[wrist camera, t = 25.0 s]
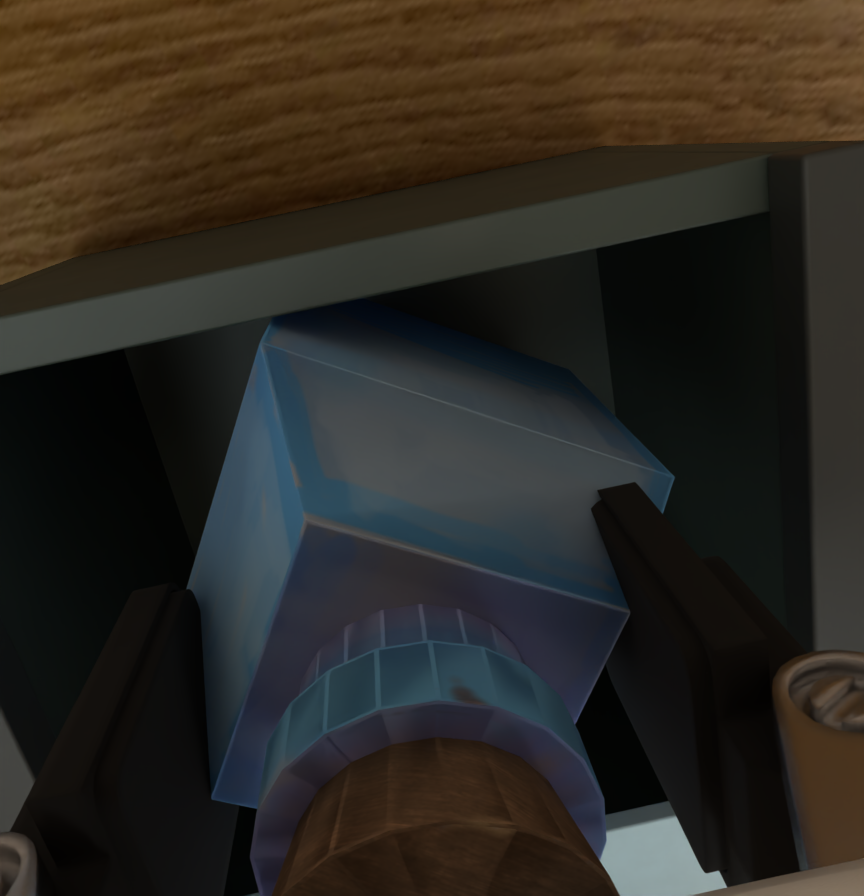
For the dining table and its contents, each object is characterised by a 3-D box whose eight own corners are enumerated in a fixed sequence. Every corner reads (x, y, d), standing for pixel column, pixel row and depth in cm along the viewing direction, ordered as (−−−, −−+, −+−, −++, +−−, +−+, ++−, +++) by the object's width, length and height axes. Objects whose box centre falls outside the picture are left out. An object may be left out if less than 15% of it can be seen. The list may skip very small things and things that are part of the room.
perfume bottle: (214, 536, 18) (-17, 1163, 7) (294, 274, 16) (156, 546, 5) (468, 605, 19) (624, 1234, 8) (568, 369, 17) (952, 758, 6)
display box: (657, 629, 27) (871, 967, 16) (235, 722, 27) (148, 1131, 16) (605, 145, 21) (877, 139, 10) (71, 258, 21) (-247, 376, 10)
